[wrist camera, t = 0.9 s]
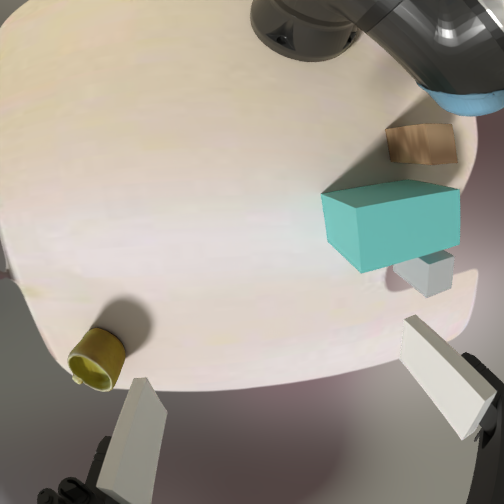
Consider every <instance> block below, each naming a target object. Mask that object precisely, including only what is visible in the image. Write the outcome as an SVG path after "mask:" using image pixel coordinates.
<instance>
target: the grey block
mask: <svg viewBox="0 0 504 504" xmlns="http://www.w3.org/2000/svg"><path fill="white" fill-rule="evenodd" d="M453 267H454V256H453V255H452V254H450V253H448V252H446V251H444V250H441V251H438V252H434V253H431V254H428V255H425V256H421V257H418V258H415V259H411V260H408V261H404V262H401V263H397V264H394V265H393V271H394V272H395V273H397V274H398V275H399V276H400V277H401V278H403V279H404V280H405V281H406V282H408V283H409V284H410V285H411V286H413V287H414V288H415V289H416V290H417V291H419V292H420V293H421V294H422V295H423V296H425V297H426V298H428V297H431V296H433V295H436V294H438V293H441V292H443V291H446V290H448V289H451V287H452V279H453Z"/></svg>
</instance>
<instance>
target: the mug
mask: <svg viewBox="0 0 504 504" xmlns="http://www.w3.org/2000/svg"><path fill="white" fill-rule="evenodd" d="M124 361H125V349H124V347H123V345H122V343H121V341H120V340H118V338H117V337H116V336H114V335H112V334H110V333H109V332H108V331H106V330H103V329H100V328H93V329H91V330H89V331H88V332H87V333H86V334H85V335H84V337H83V338H82V340H81V341H80V342H79V343H78V344H77V345H76V347H75V348H74V349H73V350H72V351H71V352H70V354H69V356H68V366H69V368H70V370H71V371H72V373H73V378H72V379H73V380H74V381H75V382H76V383H78V384H82V383H83V382H84V383H85V384H86V385H88V386H90V387H91V388H93V389H95V390H98V391H110V390H112V389H113V387H114V386H115V384H116V382H117V380H118V377H119V375H120V372H121V369H122V366H123V364H124Z"/></svg>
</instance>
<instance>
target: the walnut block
mask: <svg viewBox="0 0 504 504" xmlns="http://www.w3.org/2000/svg"><path fill="white" fill-rule="evenodd" d="M385 131H386V136H387V142H388V148H389V154H390V160H391V162H399V163H414V164H426V165H437V164H448V163H458V162H457V154H456V146H455V139H454V133H453V127H452V124H429V123H425V124H417V125H410V126H403V127H396V128H390V129H385Z"/></svg>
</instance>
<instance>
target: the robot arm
mask: <svg viewBox="0 0 504 504" xmlns="http://www.w3.org/2000/svg"><path fill="white" fill-rule="evenodd" d="M250 20H251V25H252V28H253V30H254V32H255V34H256V35H257V36H258V38H259V39H260V40H261V41H262V42H263V43H264V44H265V45H266V46H268V47H269V48H270V49H272V50H273V51H275V52H277V53H279V54H281V55H283V56H285V57H288V58H291V59H295V60H299V61H305V62H321V61H326V60H330V59H333V58H335V57H337V56H339V55H340V54H342V53H343V52H344V51H345V50H346V49H347V48H348V47H349V46H350V45H351V43H352V42H353V40H354V38H355V35H356V31H357V27H359V28H360V29H361V30H363V31H364V32H365V33H366V34H367V35H368V36H370V37H371V38H372V39H373V40H374V41H376V42H377V43H378V44H379V45H380V46H381V47H382V48H384V49H385V50H386V51H387V52H388V53H389V54H390V55H391V56H392V57H393V58H394V59H395V60H396V61H397V62H398V63H399V64H400V65H401V66H402V67H403V68H404V69H405V70H406V71H407V72H408V73H409V74H410V75H411V76H412V77H413V78H414V79H415V81H416V83H417V84H418V85H419V87H421V88H422V89H423V90H425V91H426V92H427V93H428V94H429V95H430V96H431V97H432V98H433V99H434V100H435V101H436V103H437V104H438V105H439V106H440V107H442V108H443V109H444V110H446V111H448V112H451V113H454V114H456V115H460V116H481V115H486V114H490V113H493V112H496V111H498V110H500V109H502V108H504V0H253V2H252V5H251V13H250ZM400 360H401V362H402V363H403V364H404V365H405V367H406V368H407V369H408V370H409V372H410V373H411V374H412V375H413V377H414V378H415V379H416V380H417V382H418V383H419V384H420V385H421V387H422V388H423V389H424V390H425V392H426V393H427V394H428V396H429V397H430V398H431V399H432V401H433V402H434V403H435V405H436V406H437V407H438V409H439V410H440V411H441V413H442V414H443V415H444V417H445V418H446V419H447V420H448V422H449V423H450V425H451V426H452V427H453V429H454V430H455V431H456V433H457V434H458V435H459V437H460V438H461V440H463V439H465V438H466V437H468V436H469V435H470V434H472V433H473V432H474V431H475V430H476V428H477V426H478V425H479V424H480V426H481V427H482V428H481V430H480V431H479V433H478V434H477V436H476V437H475V440H474V441H477V439H478V437H479V436H480V437H479V446H478V452H477V459H476V464H475V470H474V475H473V480H472V484H471V488H470V492H469V496H468V499H467V503H466V504H504V384H503V382H502V381H501V380H499V379H498V378H497V377H496V376H495V375H494V374H493V373H492V372H491V371H490V370H489V369H488V368H486V366H485V365H484V364H482V363H481V361H479V360H478V359H477V358H476V357H475V356H474V355H471V354H469V353H467V352H465V353H463V354H462V355H460V354H459V353H458V352H457V351H456V350H454V349H453V348H452V347H451V346H450V345H449V344H448V343H447V342H446V341H445V340H444V339H443V338H441V337H440V336H439V335H438V334H437V333H436V332H435V331H434V330H433V329H431V328H430V327H429V326H428V325H427V324H426V323H425V322H424V321H422V320H421V319H420V318H419V317H418V316H417V315H413V316H411V317H408V318H406V319H404V325H403V335H402V344H401V352H400ZM166 416H167V411H166V409H165V408H164V406H163V405H162V403H161V401H160V400H159V398H158V396H157V395H156V393H155V391H154V389H153V388H152V386H151V384H150V382H149V381H148V379H147V378H134V379H133V382H132V384H131V387H130V389H129V392H128V395H127V397H126V400H125V402H124V405H123V408H122V410H121V413H120V416H119V418H118V421H117V424H116V427H115V430H114V432H113V435H112V437H110V436H105V437H104V438H103V439H102V441H101V442H100V443H99V445H98V448H97V450H96V454H95V456H94V461H93V462H92V465H91V468H90V470H89V473H88V476H87V480H86V483H85V484H83V483H82V482H81V481H79V480H78V479H77V478H74V477H68V478H65V479H64V480H62V481H61V483H60V484H59V487H58V493H56V492H55V491H54V490H52V489H48V488H46V489H43V490H42V491H40V492H39V494H38V498H37V504H151V500H152V493H153V487H154V480H155V475H156V469H157V463H158V458H159V452H160V447H161V441H162V436H163V431H164V426H165V421H166Z"/></svg>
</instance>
